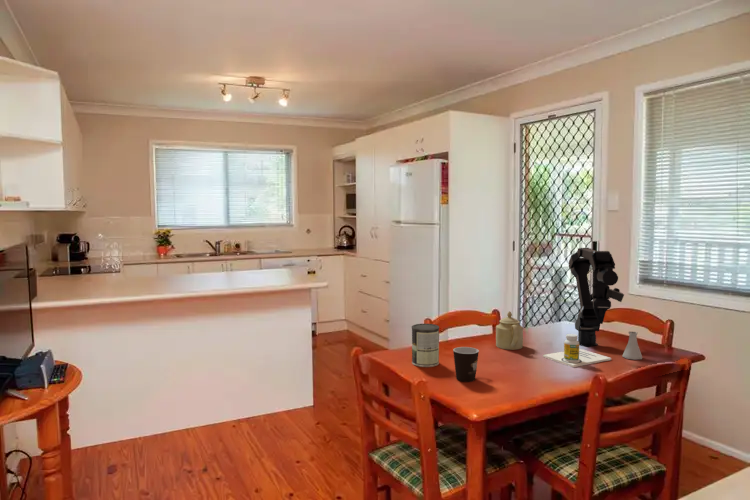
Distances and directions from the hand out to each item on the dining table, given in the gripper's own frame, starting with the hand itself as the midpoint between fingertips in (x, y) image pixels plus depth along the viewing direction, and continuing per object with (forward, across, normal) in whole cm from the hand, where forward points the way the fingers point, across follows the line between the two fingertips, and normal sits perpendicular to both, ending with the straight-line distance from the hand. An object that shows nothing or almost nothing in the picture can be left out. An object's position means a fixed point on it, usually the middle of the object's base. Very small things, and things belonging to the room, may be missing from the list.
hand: (600, 321), depth 208 cm
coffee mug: (+13, -46, +45) cm, 66 cm away
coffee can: (+13, -33, +64) cm, 73 cm away
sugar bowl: (+13, -1, +34) cm, 36 cm away
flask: (+14, -2, -11) cm, 18 cm away
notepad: (+13, -10, +9) cm, 19 cm away
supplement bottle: (+12, -16, +11) cm, 23 cm away
